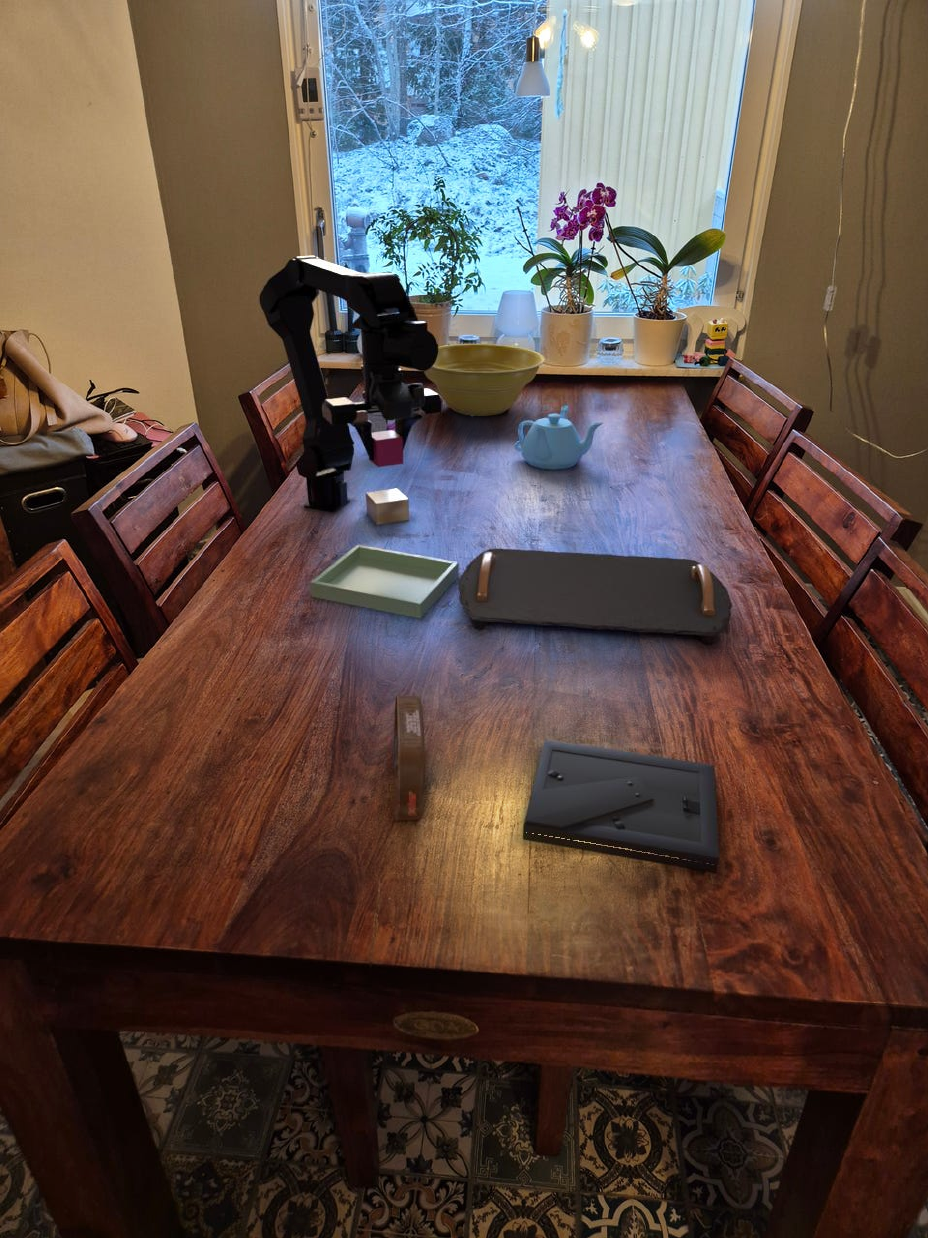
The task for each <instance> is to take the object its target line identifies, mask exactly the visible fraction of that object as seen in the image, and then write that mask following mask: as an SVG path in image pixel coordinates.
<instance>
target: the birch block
mask: <svg viewBox="0 0 928 1238" xmlns="http://www.w3.org/2000/svg"><path fill="white" fill-rule="evenodd" d="M409 502H410V501H409V498H408V497H407V496H406V495H405V494H404V493H403V492H401V490H400V489H399V488H397V487H395V488H389V489H381V490H374V491H367V492H365V504H366V514H367V516H369V518H371V519H372V521H373V522H374V523H375V524H376V525H377V526H379V525H384V524H385V525H386V524H393V523H398V522H405V521H409V520H410V507H409V505H410V504H409Z"/></svg>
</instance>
